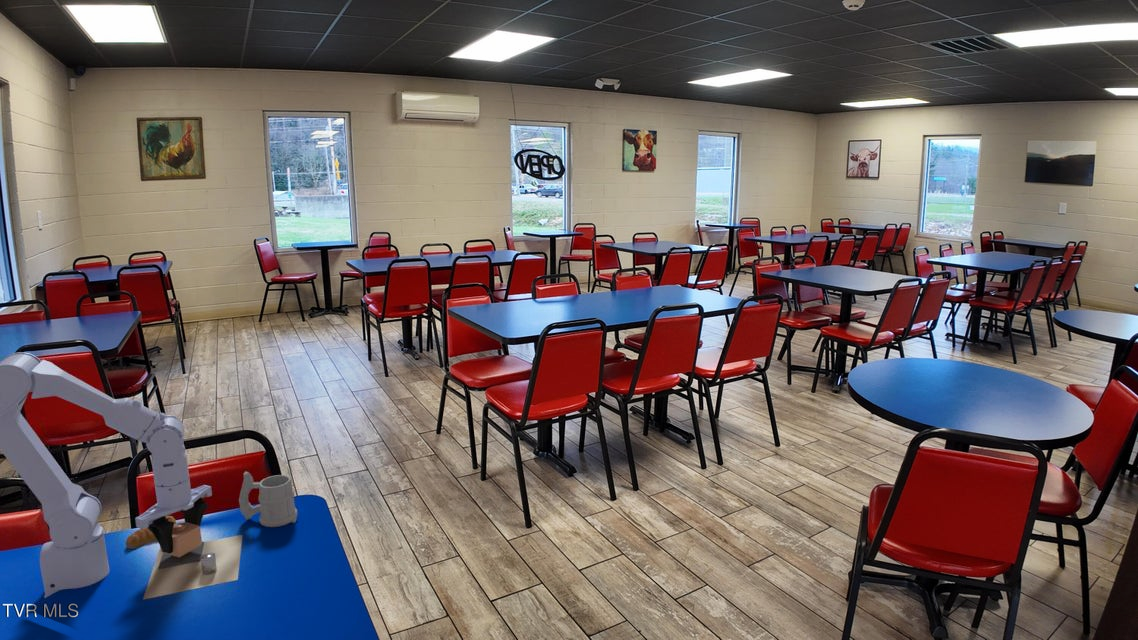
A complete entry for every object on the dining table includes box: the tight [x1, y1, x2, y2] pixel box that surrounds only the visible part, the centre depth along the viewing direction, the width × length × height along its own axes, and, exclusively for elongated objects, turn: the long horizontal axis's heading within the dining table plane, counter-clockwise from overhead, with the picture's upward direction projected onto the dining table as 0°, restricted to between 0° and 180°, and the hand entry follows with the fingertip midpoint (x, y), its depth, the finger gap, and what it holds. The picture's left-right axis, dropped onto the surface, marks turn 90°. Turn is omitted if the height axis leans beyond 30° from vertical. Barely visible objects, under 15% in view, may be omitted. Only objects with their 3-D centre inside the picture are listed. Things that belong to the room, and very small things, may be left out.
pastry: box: [125, 515, 178, 550], centre depth 137 cm, size 9×7×4 cm
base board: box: [142, 534, 243, 600], centre depth 127 cm, size 15×17×1 cm
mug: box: [238, 471, 298, 528], centre depth 143 cm, size 8×12×12 cm, turn 94°
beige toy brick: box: [159, 520, 203, 557], centre depth 129 cm, size 5×5×5 cm
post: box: [201, 552, 217, 575], centre depth 124 cm, size 2×2×3 cm
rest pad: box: [158, 541, 205, 569], centre depth 130 cm, size 7×7×1 cm
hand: (180, 544), depth 129 cm, fingers closed on beige toy brick, 5 cm apart
